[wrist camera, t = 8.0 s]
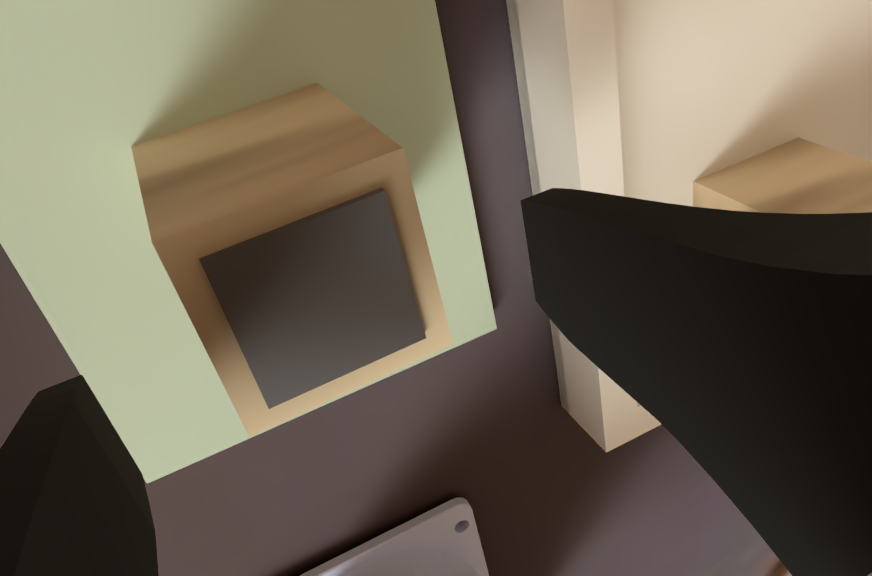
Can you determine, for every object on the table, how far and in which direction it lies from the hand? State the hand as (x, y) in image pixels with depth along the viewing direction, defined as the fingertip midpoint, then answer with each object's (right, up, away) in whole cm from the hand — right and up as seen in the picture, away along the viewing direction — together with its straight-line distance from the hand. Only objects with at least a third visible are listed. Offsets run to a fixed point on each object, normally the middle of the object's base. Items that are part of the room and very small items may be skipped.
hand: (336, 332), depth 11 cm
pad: (-3, +3, +5) cm, 6 cm away
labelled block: (-2, +3, +5) cm, 6 cm away
